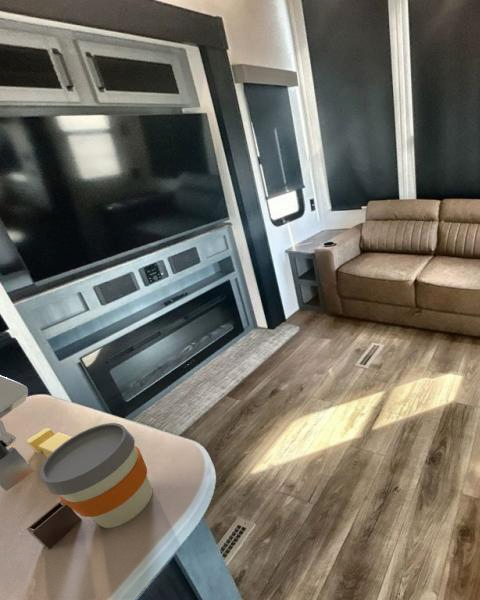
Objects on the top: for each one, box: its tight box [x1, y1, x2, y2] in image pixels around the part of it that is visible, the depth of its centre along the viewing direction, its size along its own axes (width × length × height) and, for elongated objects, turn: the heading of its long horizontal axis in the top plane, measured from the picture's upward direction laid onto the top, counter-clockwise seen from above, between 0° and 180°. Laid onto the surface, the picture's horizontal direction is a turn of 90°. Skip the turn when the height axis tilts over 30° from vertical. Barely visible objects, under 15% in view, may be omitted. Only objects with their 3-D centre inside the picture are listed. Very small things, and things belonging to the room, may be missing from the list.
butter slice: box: [25, 427, 56, 454], centre depth 84 cm, size 2×4×4 cm, turn 158°
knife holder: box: [25, 500, 82, 550], centre depth 64 cm, size 5×2×5 cm, turn 159°
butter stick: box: [39, 432, 73, 458], centre depth 81 cm, size 7×4×4 cm, turn 68°
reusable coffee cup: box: [39, 422, 153, 529], centre depth 65 cm, size 13×12×15 cm
